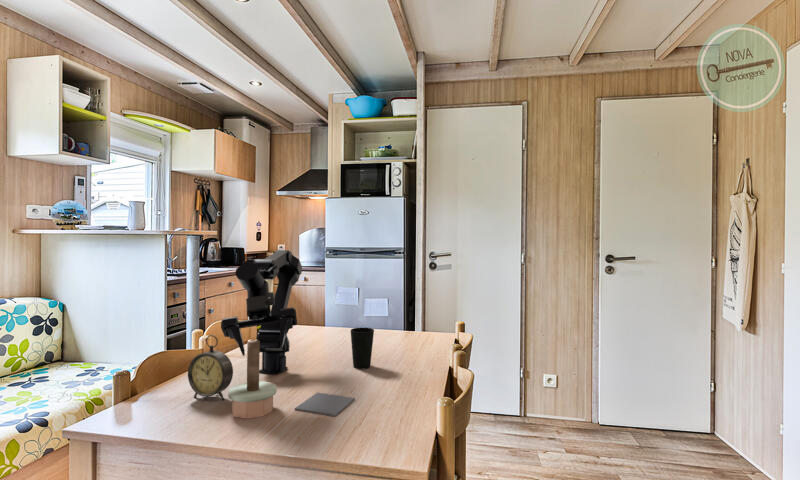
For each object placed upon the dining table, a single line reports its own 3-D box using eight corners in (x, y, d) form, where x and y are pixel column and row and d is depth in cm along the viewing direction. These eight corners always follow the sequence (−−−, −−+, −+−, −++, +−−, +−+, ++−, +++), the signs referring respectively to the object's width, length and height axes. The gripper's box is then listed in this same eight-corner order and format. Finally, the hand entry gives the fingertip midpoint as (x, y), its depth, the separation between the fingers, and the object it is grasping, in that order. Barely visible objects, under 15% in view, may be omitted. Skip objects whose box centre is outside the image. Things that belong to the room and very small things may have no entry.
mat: (294, 409, 101) (294, 408, 101) (317, 394, 111) (317, 392, 111) (335, 416, 98) (335, 414, 98) (354, 399, 108) (354, 397, 108)
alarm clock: (186, 398, 107) (186, 335, 107) (201, 391, 112) (201, 331, 112) (222, 403, 104) (223, 339, 104) (236, 395, 109) (237, 334, 109)
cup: (369, 371, 132) (370, 333, 132) (346, 369, 133) (347, 331, 133) (376, 363, 139) (376, 328, 139) (354, 362, 141) (354, 326, 141)
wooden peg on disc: (219, 394, 100) (219, 342, 100) (259, 382, 108) (259, 334, 108) (245, 406, 93) (246, 350, 93) (285, 392, 102) (286, 341, 102)
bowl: (224, 414, 98) (224, 397, 98) (249, 400, 106) (249, 385, 106) (256, 420, 95) (256, 402, 95) (279, 405, 103) (279, 389, 103)
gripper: (216, 288, 106) (216, 345, 97) (291, 277, 111) (298, 330, 102) (224, 310, 114) (225, 363, 105) (294, 299, 119) (300, 349, 110)
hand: (262, 351), depth 105 cm, fingers open, 9 cm apart
